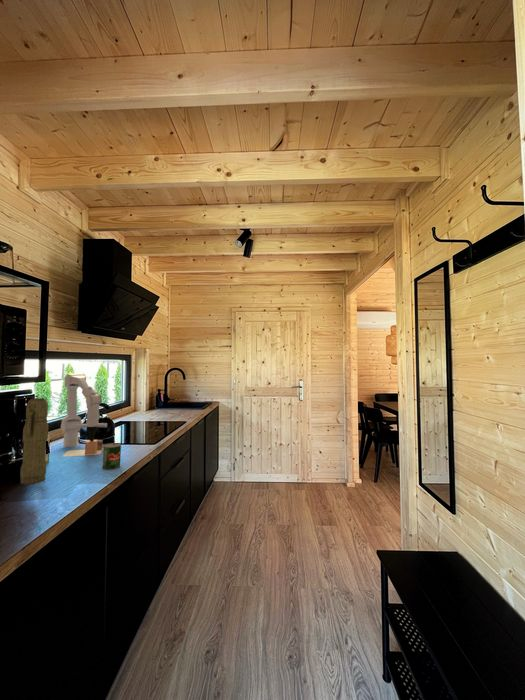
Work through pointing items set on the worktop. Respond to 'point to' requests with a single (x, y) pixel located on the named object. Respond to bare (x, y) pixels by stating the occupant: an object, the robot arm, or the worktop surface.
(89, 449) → the tan wooden block
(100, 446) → the walnut post
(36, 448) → the tan tall block
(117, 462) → the canned tomato
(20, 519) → the worktop surface
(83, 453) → the board
